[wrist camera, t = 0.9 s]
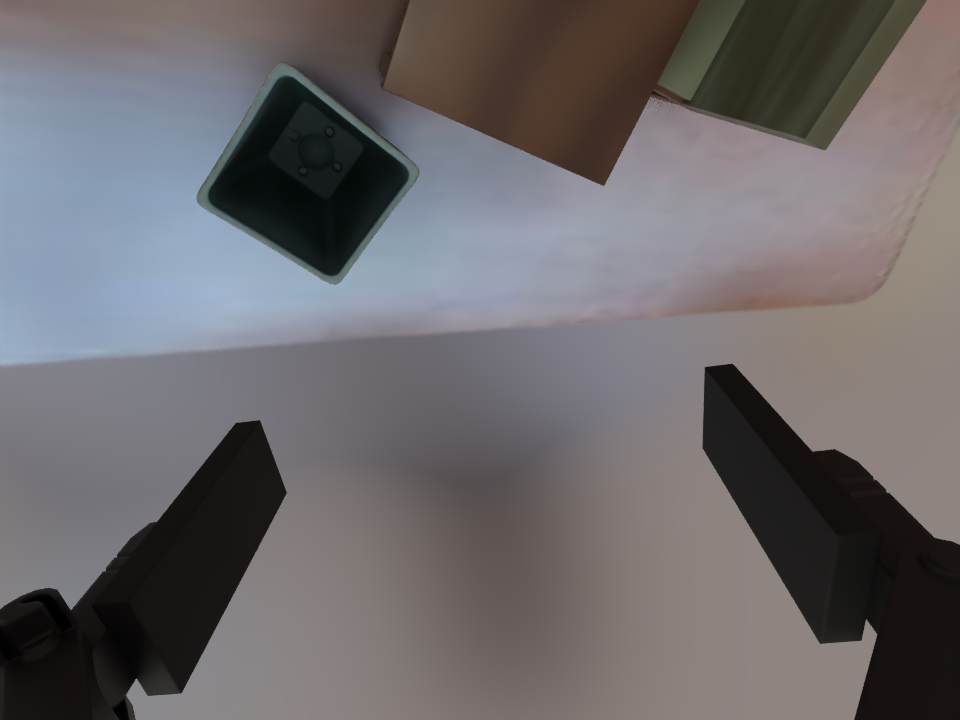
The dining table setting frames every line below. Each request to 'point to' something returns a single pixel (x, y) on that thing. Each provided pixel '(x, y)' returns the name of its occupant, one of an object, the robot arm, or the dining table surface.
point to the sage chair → (783, 62)
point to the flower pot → (307, 176)
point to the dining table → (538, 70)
